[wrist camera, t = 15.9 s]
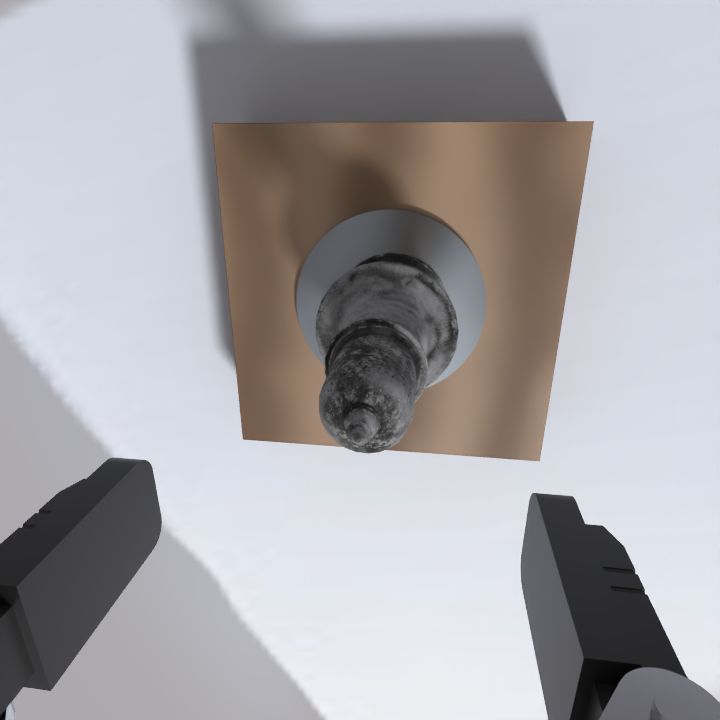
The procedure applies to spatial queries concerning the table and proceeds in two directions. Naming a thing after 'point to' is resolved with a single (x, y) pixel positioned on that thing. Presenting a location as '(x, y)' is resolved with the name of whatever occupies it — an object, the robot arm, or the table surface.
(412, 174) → the walnut plinth
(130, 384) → the table surface
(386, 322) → the stone chess piece
